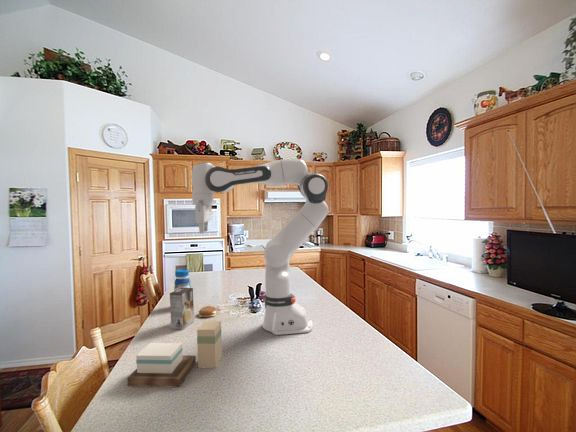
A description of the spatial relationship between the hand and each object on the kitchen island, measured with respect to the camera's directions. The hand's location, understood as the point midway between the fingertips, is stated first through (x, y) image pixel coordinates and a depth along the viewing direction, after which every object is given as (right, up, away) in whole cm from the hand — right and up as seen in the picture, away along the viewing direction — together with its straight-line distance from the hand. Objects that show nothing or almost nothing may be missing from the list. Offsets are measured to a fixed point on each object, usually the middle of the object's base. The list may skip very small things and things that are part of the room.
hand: (203, 232), depth 122 cm
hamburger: (-3, -43, +20) cm, 47 cm away
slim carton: (+10, -44, -25) cm, 51 cm away
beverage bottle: (-20, -42, +30) cm, 56 cm away
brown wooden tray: (-4, -44, -31) cm, 54 cm away
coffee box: (-12, -43, +6) cm, 45 cm away
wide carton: (-5, -42, -31) cm, 52 cm away
